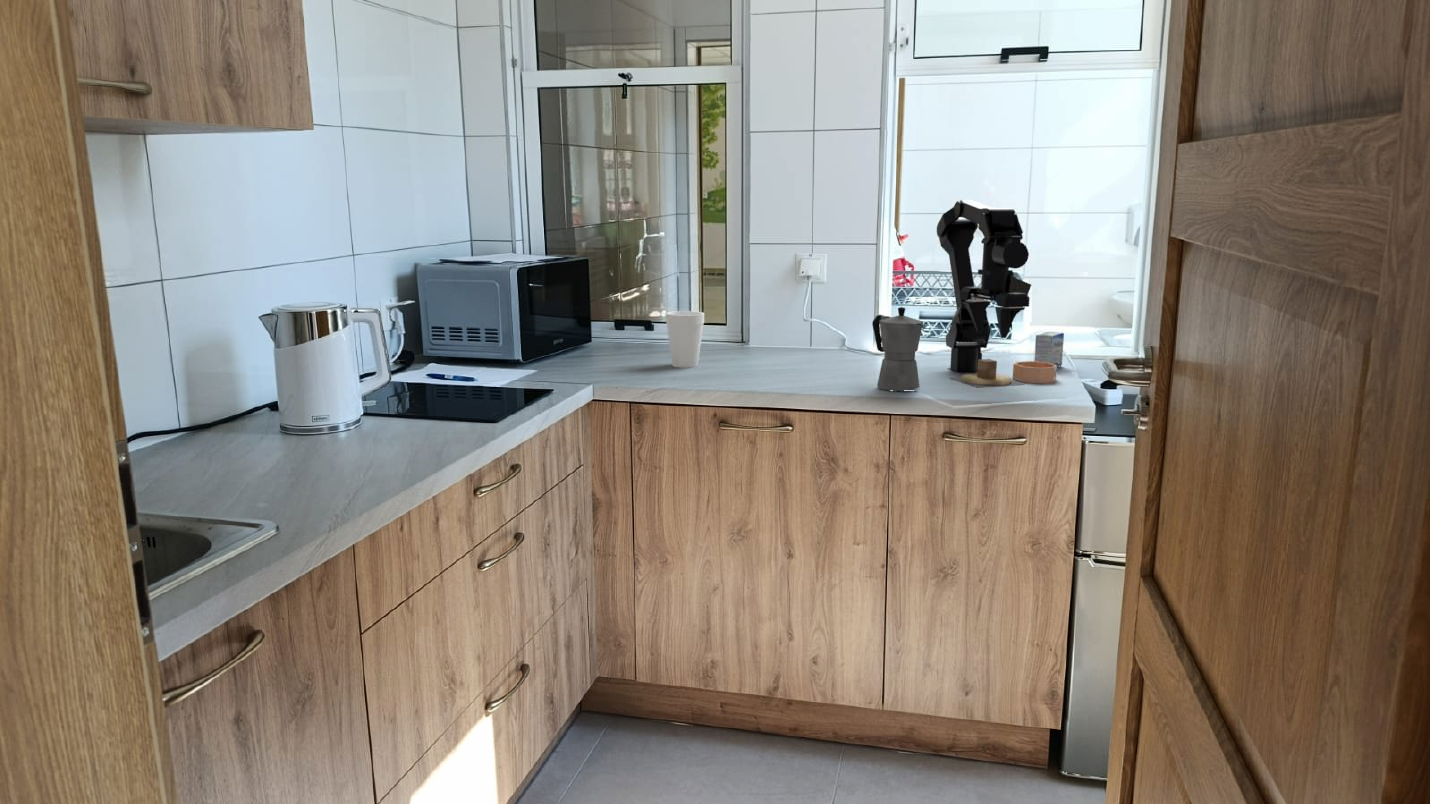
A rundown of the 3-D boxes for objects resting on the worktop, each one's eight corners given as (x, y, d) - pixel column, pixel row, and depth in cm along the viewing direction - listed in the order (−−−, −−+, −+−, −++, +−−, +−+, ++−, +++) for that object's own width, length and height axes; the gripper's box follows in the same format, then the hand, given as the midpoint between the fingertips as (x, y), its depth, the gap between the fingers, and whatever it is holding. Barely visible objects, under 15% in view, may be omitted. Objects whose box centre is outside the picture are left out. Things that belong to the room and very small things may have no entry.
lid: (978, 387, 224) (979, 365, 223) (952, 378, 234) (953, 357, 233) (1021, 384, 227) (1022, 363, 226) (993, 375, 237) (994, 355, 236)
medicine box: (1051, 371, 247) (1053, 336, 246) (1033, 369, 250) (1035, 334, 248) (1062, 367, 254) (1064, 332, 252) (1044, 365, 256) (1046, 330, 254)
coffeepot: (935, 391, 222) (939, 309, 219) (903, 395, 217) (907, 311, 214) (886, 379, 235) (889, 302, 231) (855, 384, 230) (858, 304, 226)
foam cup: (706, 362, 256) (706, 311, 254) (702, 369, 247) (702, 315, 245) (668, 361, 257) (668, 310, 255) (663, 368, 248) (663, 315, 246)
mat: (977, 390, 223) (977, 387, 223) (949, 380, 235) (949, 377, 235) (1024, 387, 227) (1024, 384, 227) (994, 377, 238) (994, 375, 238)
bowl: (1028, 386, 228) (1030, 369, 227) (1005, 379, 236) (1006, 362, 236) (1063, 384, 231) (1064, 367, 230) (1039, 377, 239) (1040, 360, 238)
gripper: (1052, 267, 220) (1047, 339, 223) (1001, 262, 237) (997, 328, 240) (1008, 268, 216) (1004, 341, 219) (960, 262, 233) (956, 330, 236)
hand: (991, 335), depth 229 cm, fingers open, 9 cm apart
